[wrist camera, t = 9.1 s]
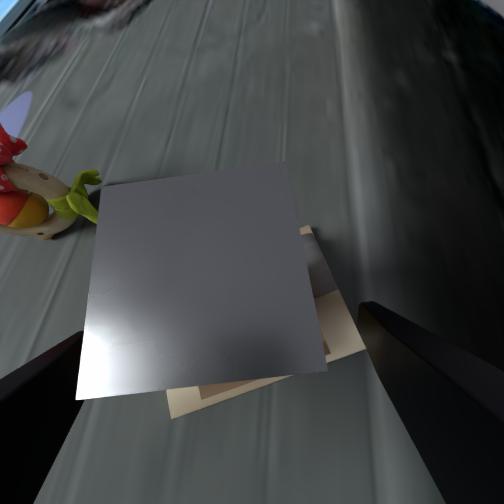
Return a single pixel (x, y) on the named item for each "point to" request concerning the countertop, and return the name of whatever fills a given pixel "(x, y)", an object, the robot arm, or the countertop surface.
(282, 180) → the tall brass pillar
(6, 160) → the bird rattle
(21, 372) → the robot arm
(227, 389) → the wooden fixture board
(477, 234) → the countertop surface
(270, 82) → the countertop surface
